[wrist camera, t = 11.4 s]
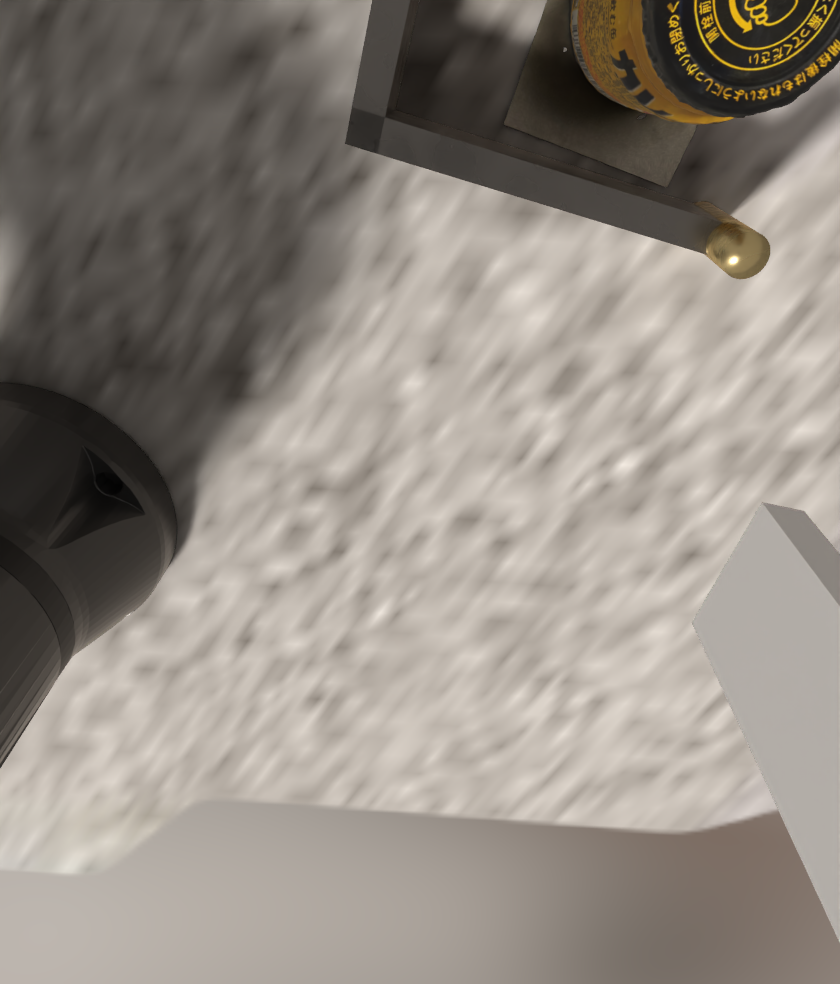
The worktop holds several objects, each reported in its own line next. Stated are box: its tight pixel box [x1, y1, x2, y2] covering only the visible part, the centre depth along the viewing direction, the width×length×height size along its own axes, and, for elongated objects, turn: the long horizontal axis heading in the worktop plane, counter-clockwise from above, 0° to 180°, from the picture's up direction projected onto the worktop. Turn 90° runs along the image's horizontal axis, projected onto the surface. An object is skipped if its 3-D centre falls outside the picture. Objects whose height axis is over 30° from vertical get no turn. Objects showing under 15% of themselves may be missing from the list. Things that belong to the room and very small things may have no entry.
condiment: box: [504, 0, 840, 188], centre depth 21 cm, size 7×8×12 cm
